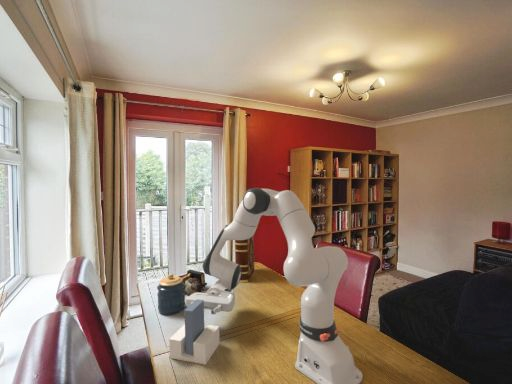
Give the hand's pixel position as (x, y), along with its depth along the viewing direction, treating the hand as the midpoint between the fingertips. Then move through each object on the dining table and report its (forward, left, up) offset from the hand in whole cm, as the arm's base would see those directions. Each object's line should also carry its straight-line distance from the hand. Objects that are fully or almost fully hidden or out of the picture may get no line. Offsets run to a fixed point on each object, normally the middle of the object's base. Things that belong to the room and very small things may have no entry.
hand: (201, 311), depth 105 cm
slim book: (-4, +4, -11) cm, 12 cm away
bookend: (+47, -10, -13) cm, 50 cm away
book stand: (-4, +4, -12) cm, 14 cm away
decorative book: (+54, -46, -13) cm, 72 cm away
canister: (+34, +5, -13) cm, 37 cm away
